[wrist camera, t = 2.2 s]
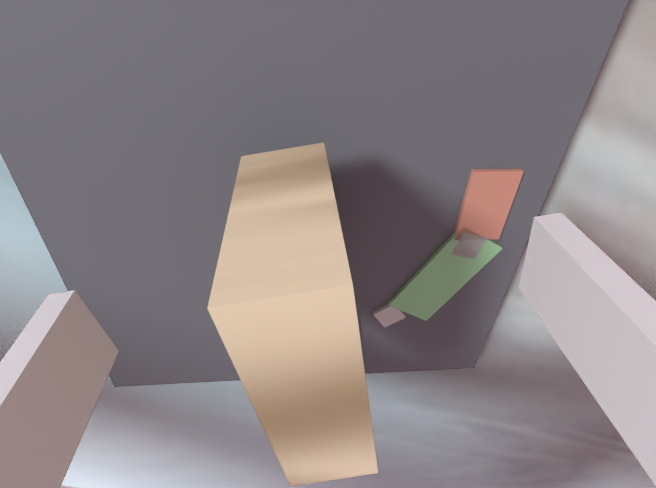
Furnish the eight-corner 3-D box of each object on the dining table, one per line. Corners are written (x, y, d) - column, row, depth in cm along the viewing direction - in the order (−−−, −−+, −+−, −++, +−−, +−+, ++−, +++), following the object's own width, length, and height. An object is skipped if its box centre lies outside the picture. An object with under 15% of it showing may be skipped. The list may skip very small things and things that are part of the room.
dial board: (124, 363, 22) (113, 390, 21) (-137, -231, 9) (-213, -265, 8) (464, 347, 24) (475, 370, 22) (658, -165, 11) (712, -184, 9)
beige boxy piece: (241, 129, 13) (195, 310, 6) (324, 115, 13) (365, 282, 6) (305, 359, 20) (315, 551, 14) (358, 351, 20) (393, 539, 14)
